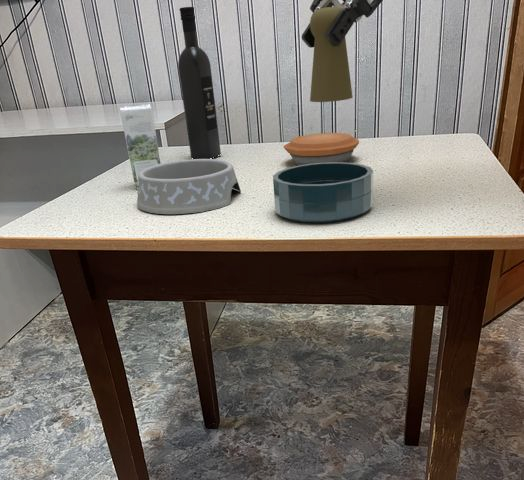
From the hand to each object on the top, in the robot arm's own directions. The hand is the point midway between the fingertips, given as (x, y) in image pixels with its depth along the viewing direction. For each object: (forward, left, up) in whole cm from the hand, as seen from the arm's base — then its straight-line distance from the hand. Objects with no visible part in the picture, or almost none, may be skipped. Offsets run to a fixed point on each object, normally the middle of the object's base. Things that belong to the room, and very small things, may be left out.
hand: (318, 42), depth 72 cm
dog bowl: (+18, -18, -22) cm, 34 cm away
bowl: (+1, +1, -22) cm, 22 cm away
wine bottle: (+7, -54, -22) cm, 59 cm away
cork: (-2, 0, -7) cm, 8 cm away
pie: (-13, -32, -22) cm, 41 cm away
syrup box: (+23, -34, -22) cm, 46 cm away
